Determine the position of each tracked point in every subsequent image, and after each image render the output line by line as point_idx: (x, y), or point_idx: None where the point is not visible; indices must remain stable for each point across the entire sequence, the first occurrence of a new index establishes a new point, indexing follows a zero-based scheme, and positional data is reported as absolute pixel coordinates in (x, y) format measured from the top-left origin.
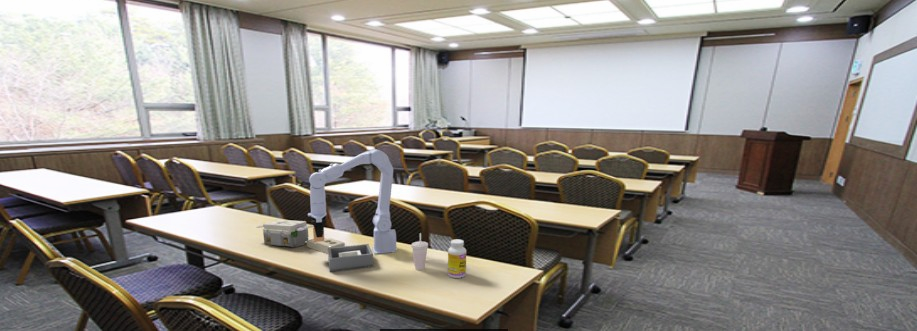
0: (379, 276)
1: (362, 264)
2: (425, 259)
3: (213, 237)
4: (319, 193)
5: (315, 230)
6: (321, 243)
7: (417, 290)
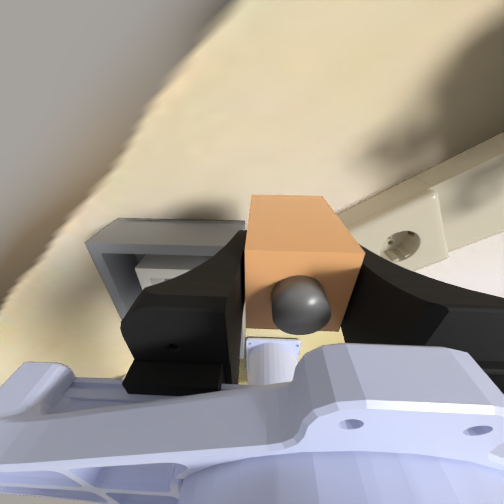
0: (87, 321)
1: None
2: None
3: None
4: None
5: (214, 255)
6: (387, 217)
7: (21, 356)
